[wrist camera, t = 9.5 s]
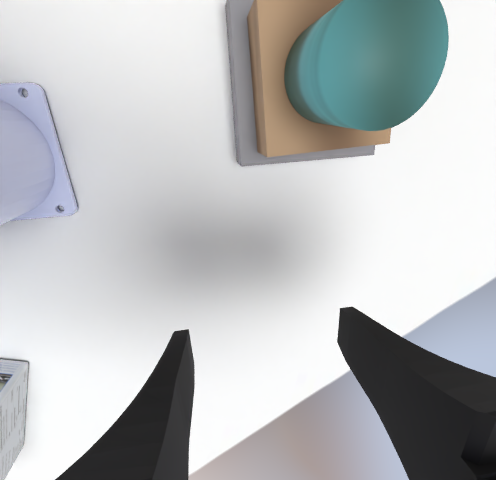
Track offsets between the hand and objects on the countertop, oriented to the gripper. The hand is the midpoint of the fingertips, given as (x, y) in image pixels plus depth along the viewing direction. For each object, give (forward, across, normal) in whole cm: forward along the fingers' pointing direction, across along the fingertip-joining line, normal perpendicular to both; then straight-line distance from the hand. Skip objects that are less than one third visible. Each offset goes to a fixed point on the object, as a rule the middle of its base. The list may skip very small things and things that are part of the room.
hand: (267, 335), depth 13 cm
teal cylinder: (+5, -4, -11) cm, 13 cm away
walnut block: (+8, -5, -11) cm, 15 cm away
